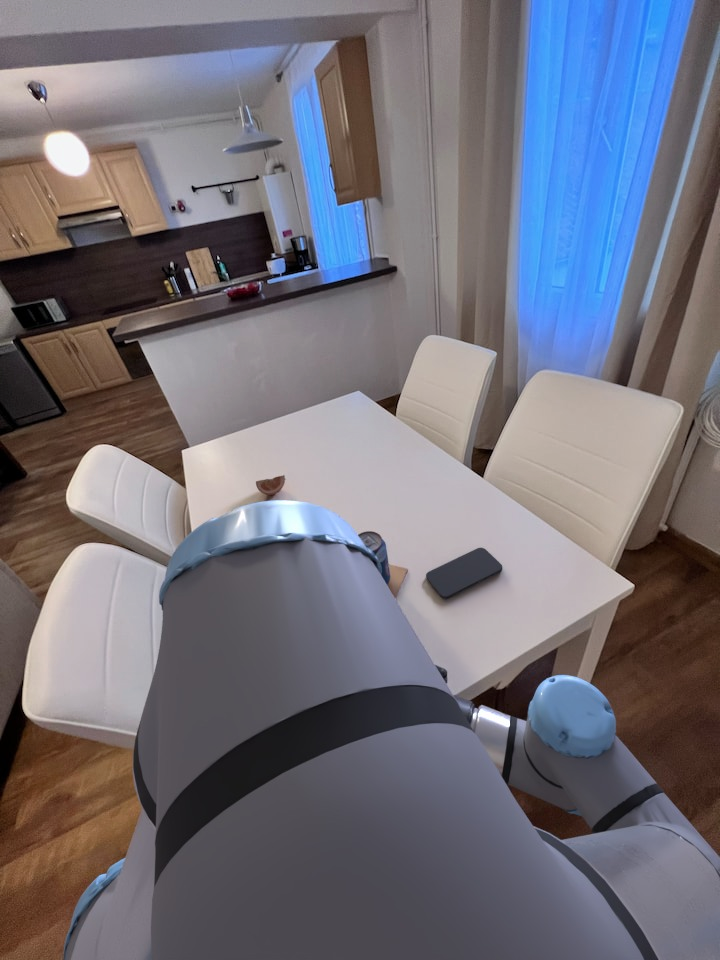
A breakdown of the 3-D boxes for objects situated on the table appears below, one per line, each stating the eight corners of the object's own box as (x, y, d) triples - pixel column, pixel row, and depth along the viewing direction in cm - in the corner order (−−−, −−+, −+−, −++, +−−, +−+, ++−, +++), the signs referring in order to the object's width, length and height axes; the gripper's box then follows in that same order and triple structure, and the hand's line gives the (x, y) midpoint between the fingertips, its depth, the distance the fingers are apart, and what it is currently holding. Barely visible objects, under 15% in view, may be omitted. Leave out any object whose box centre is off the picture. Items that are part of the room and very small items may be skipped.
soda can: (397, 584, 84) (392, 543, 77) (368, 600, 81) (360, 560, 74) (380, 564, 89) (373, 524, 82) (352, 578, 87) (343, 538, 80)
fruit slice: (287, 482, 121) (283, 468, 118) (289, 495, 115) (284, 481, 112) (260, 488, 120) (255, 475, 117) (260, 502, 114) (255, 488, 112)
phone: (423, 573, 85) (481, 545, 88) (423, 576, 85) (481, 548, 89) (443, 598, 79) (505, 567, 83) (443, 601, 79) (504, 570, 83)
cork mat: (390, 611, 79) (389, 609, 79) (340, 597, 84) (340, 595, 83) (407, 570, 87) (407, 568, 87) (361, 559, 92) (361, 557, 91)
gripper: (447, 859, 46) (293, 777, 55) (487, 664, 64) (366, 625, 73) (447, 840, 42) (280, 755, 51) (489, 636, 60) (360, 599, 68)
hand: (330, 679), depth 62 cm, fingers open, 13 cm apart
